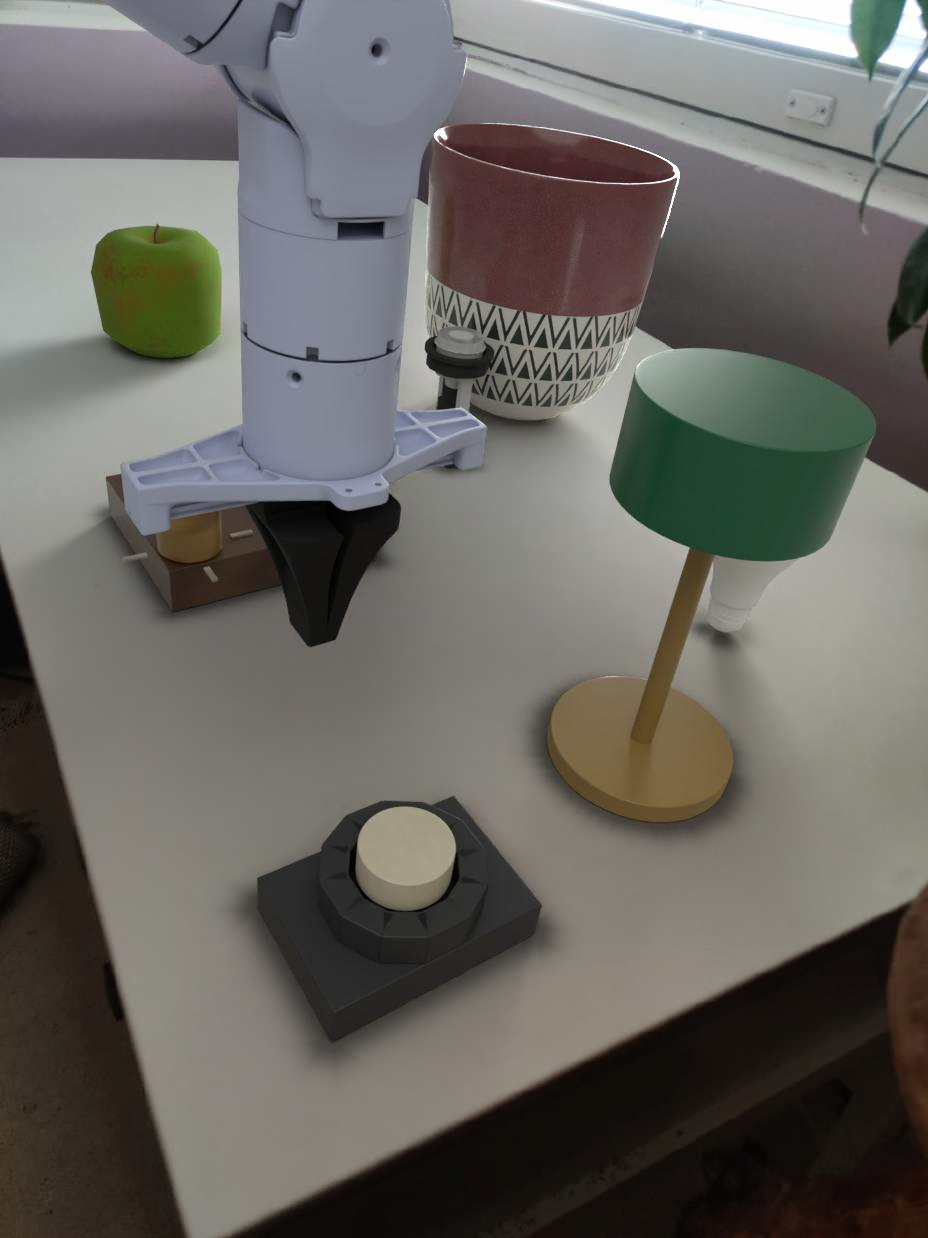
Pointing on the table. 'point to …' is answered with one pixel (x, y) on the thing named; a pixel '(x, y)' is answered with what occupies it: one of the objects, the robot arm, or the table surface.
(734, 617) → the lightbulb
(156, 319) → the apple
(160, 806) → the table surface
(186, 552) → the dimmer knob
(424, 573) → the table surface
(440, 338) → the push button
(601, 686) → the desk lamp
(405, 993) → the switch block
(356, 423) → the robot arm
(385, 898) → the button
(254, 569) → the dimmer panel
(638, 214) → the planter
